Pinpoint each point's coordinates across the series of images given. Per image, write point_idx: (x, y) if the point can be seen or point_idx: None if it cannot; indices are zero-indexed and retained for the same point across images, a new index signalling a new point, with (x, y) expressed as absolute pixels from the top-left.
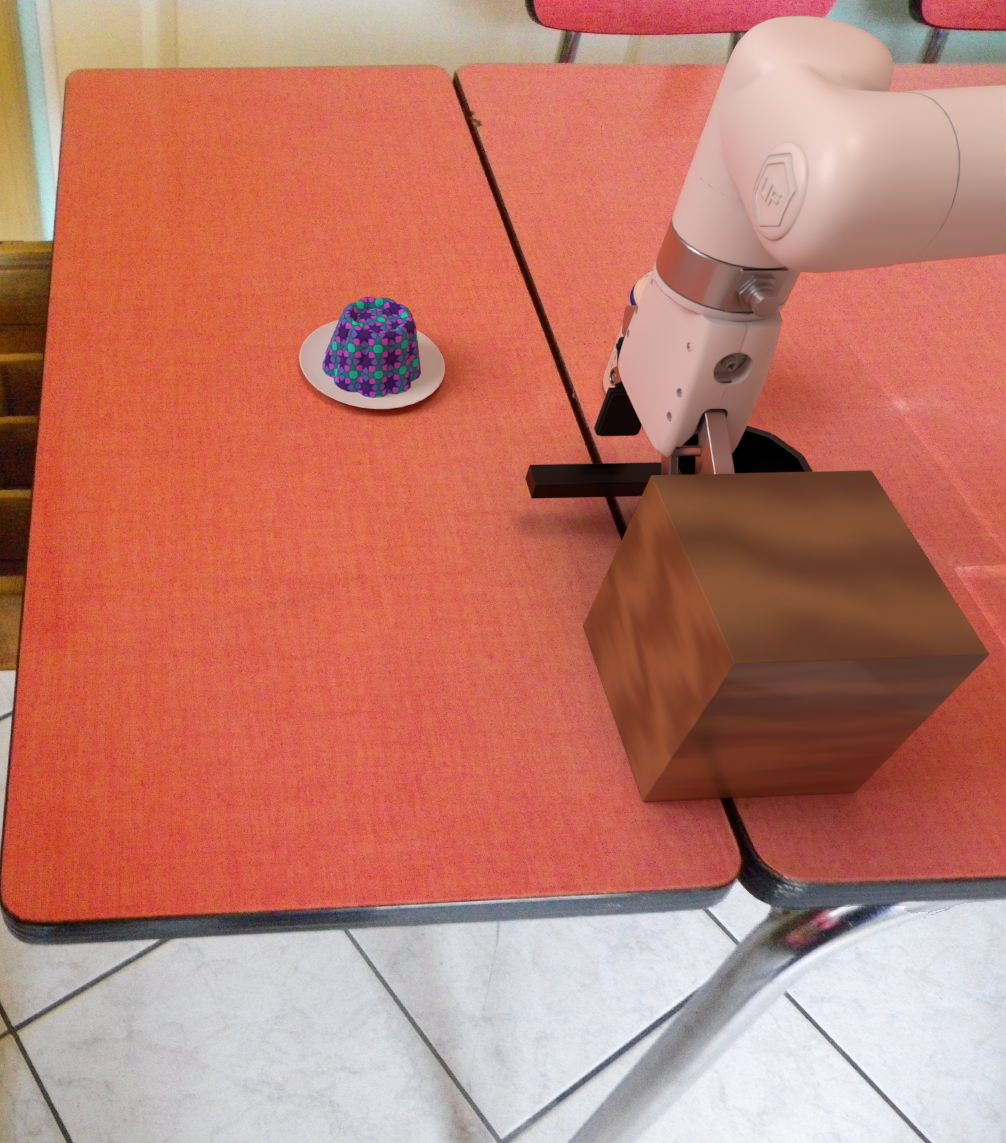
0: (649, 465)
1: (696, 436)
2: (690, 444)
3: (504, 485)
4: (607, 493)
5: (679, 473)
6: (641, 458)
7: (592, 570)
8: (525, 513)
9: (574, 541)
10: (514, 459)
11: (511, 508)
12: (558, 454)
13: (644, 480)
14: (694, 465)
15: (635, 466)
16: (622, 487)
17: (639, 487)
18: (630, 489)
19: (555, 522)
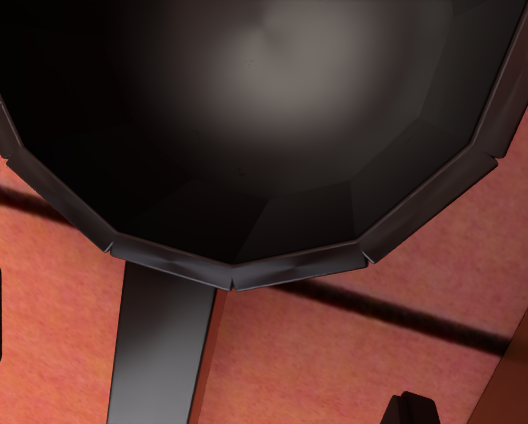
0: (132, 317)
1: (5, 45)
2: (36, 64)
3: (94, 398)
4: (197, 415)
5: (185, 259)
6: None
7: (327, 380)
8: None
9: (249, 368)
10: (33, 351)
11: None
12: (24, 271)
13: (190, 368)
14: (92, 7)
15: (130, 356)
16: (195, 407)
17: (204, 366)
18: (202, 380)
19: None
